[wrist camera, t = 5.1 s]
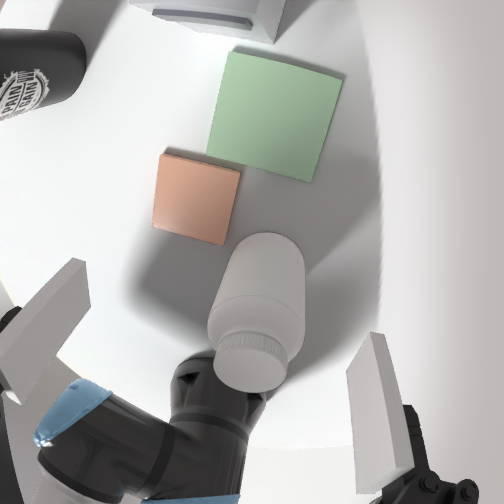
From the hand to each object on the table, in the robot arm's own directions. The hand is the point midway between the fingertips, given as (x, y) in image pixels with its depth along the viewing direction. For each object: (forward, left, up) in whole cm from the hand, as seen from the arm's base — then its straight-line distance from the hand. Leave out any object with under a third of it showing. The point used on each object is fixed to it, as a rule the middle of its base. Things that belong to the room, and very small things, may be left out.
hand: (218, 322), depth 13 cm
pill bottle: (-8, -3, -19) cm, 21 cm away
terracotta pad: (-3, +6, -19) cm, 20 cm away
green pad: (+7, +1, -19) cm, 20 cm away
